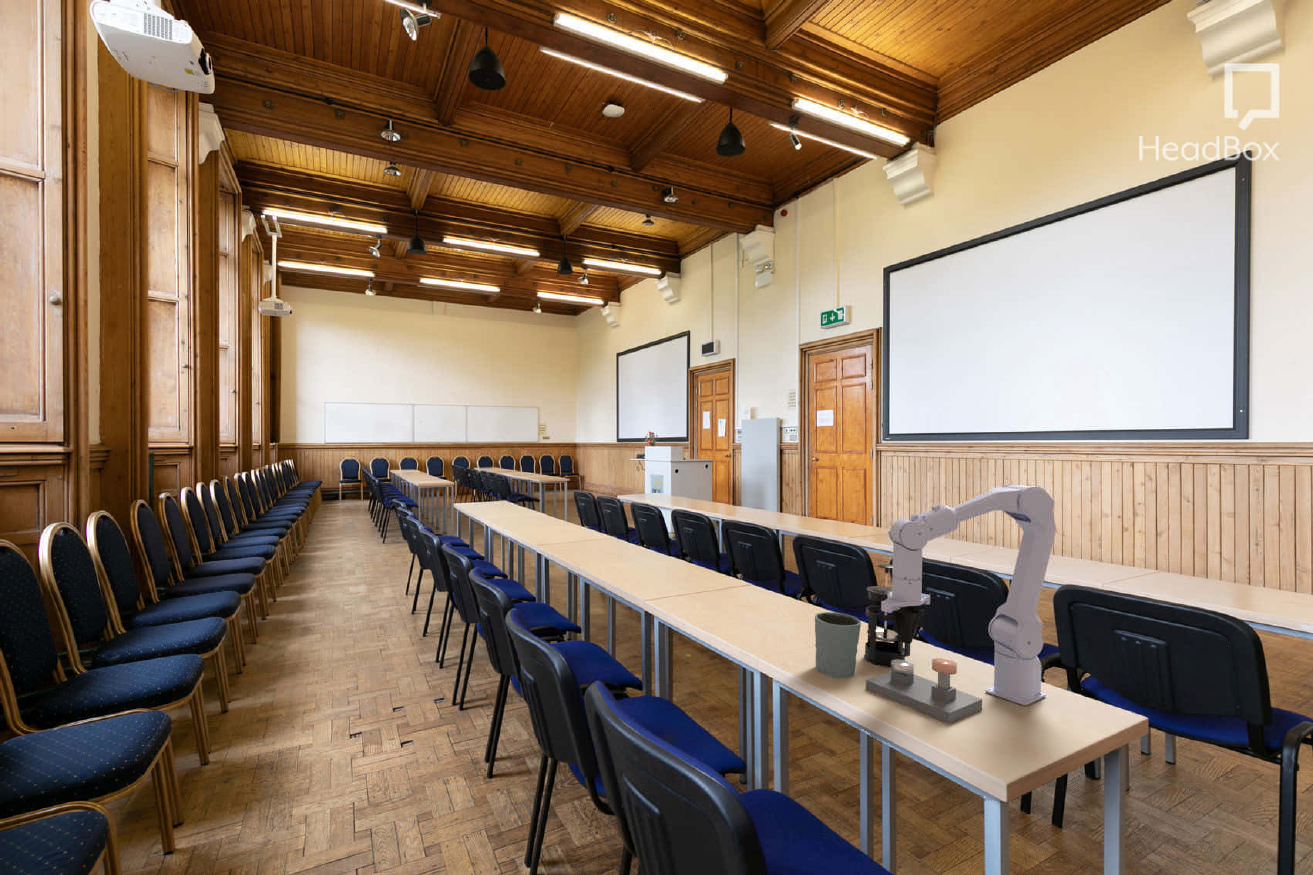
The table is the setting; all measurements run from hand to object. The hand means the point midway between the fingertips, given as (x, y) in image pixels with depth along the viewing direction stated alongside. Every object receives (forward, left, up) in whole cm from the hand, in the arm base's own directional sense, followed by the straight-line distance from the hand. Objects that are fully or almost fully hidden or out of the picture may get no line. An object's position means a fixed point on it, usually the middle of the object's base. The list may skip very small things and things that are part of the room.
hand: (905, 642), depth 124 cm
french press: (-13, -13, -11) cm, 21 cm away
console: (0, +4, -10) cm, 11 cm away
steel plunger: (0, -1, -10) cm, 11 cm away
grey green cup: (+3, -15, -11) cm, 19 cm away
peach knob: (0, +8, -7) cm, 11 cm away
